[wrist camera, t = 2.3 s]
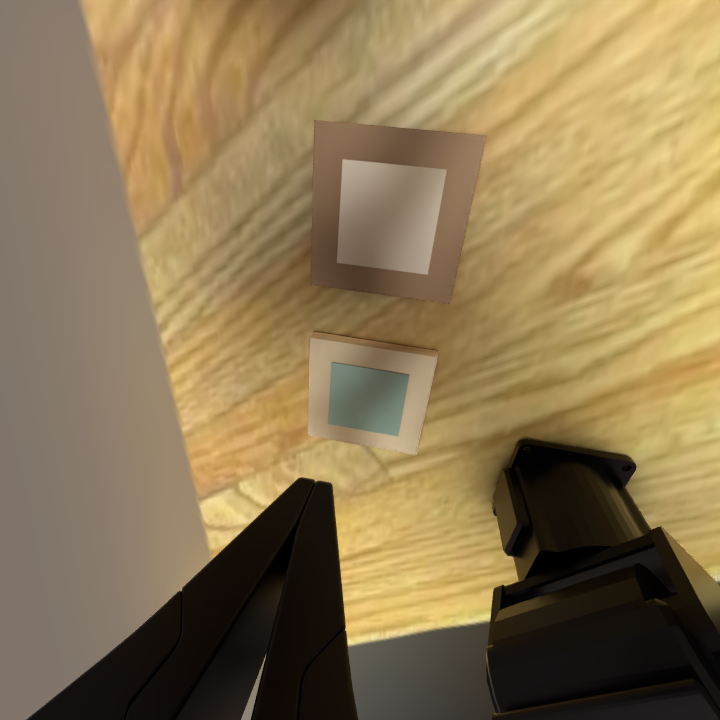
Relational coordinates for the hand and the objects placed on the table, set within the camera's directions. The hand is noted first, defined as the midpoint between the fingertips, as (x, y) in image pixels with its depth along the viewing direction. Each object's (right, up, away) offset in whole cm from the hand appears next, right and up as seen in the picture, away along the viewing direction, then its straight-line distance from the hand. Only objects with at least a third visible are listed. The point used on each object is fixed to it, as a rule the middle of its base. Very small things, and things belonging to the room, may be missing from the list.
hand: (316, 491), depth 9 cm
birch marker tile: (+2, +1, +13) cm, 13 cm away
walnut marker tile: (+2, +10, +8) cm, 13 cm away
